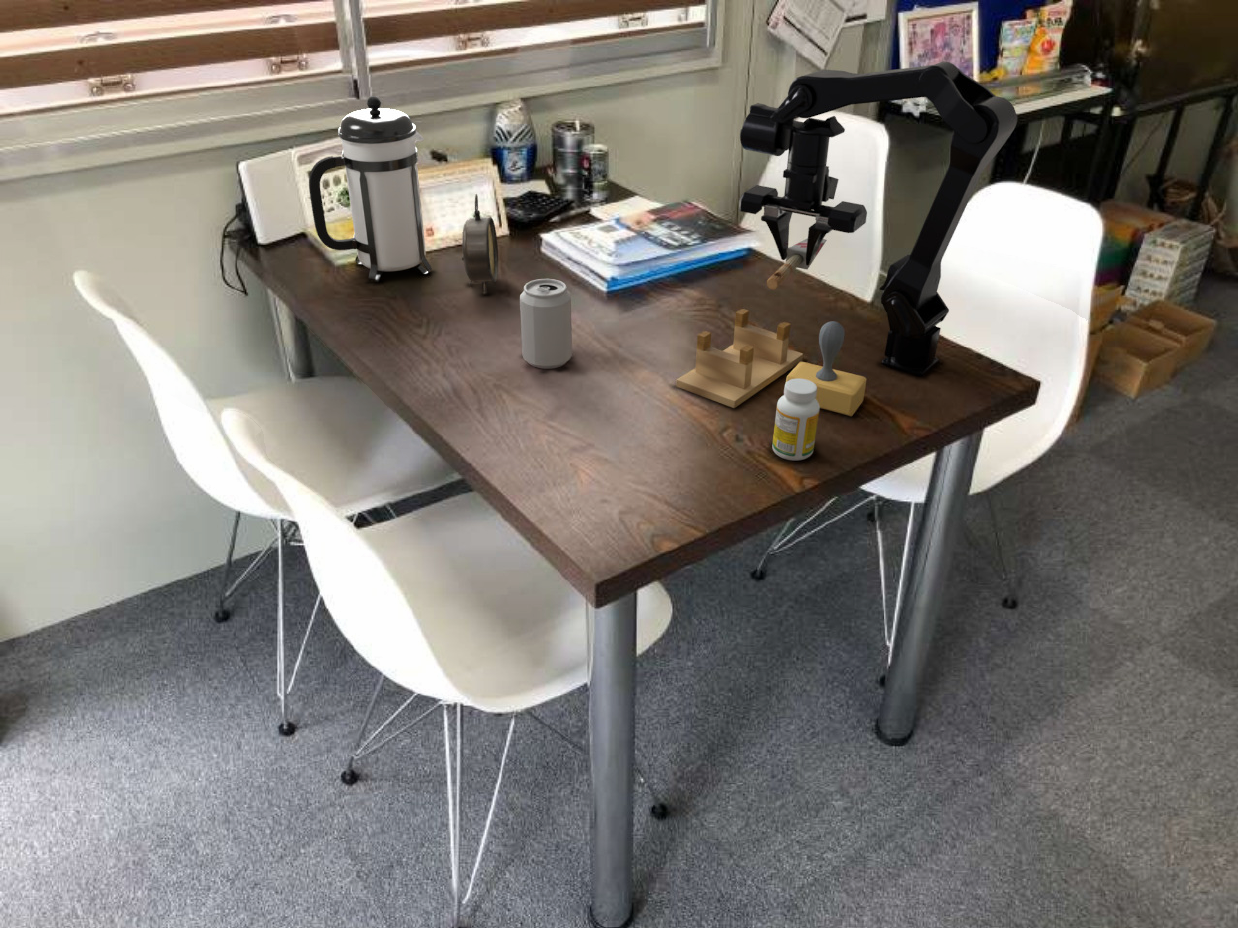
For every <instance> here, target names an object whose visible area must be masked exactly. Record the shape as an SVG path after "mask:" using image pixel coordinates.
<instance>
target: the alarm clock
mask: <svg viewBox="0 0 1238 928" xmlns="http://www.w3.org/2000/svg"><path fill="white" fill-rule="evenodd" d="M473 214H474V217H469V218H467V219H466V221H465V222H464V224H463V227H462V233H461V234H462V238H461V239H462V241H461V242H462V245H461V246H462V257H461V260H462V261H463V265H464V269H465V272H466V275H467V277H468V279H469V280H470V282H469V284H468V285H471V283H474V284H476V283H478V284H479V283H482V289H483V292H482V294H483V296H487V295H488V292H487V290H488V283H495V282H496V281H497V280H498V276H499V243H498V237H497V236H498V235H497V230H496V225H495V221H494V218H492V217H491V216H481V215H480V214H481V212H480V210H479V198H478V193H475V194H474V212H473Z"/></svg>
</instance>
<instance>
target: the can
mask: <svg viewBox="0 0 1238 928" xmlns="http://www.w3.org/2000/svg"><path fill="white" fill-rule="evenodd" d="M519 309H520V311H519V312H520V329H521V331H520V333H521V351H522V353H521V354H522V358H523V359H524V361H526V362H527V363H528V364H529V365H530V366H532V367H535V368H537V369H543V370H548V369H549V370H550V369H557V368H559V367H562V366H564V365H566V363H567V362H568V361H570V360H571V358H572V357H573V339H572V338H573V337H572V336H573V335H572V334H573V333H572V332H573V331H572V294H571V293H570V292H569V291H568V288H567V284H565V282H563V281H561V280H558V279H554V278H539V279H538V278H537V279H533V280H530V281H529V282H527V283H525V285H524V286H523V291H522V292H521V294H520V295H519Z"/></svg>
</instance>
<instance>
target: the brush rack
mask: <svg viewBox="0 0 1238 928" xmlns="http://www.w3.org/2000/svg"><path fill="white" fill-rule="evenodd" d="M749 314H750V310H748V309H745V308H741V309H739V310H737V311H735V319H734V320H735V321H734V332H733V333H734V335H733V344H731V345H730V346H728V347H727V348H725V349H724V350H721V349H718V348H715V347H712V345H711V343H712V332H710V331H707V330H702V331H701V332H700V333H698V334H697V339H696V353H695V354H696V356H695V367H694V368H693V369H691V370H690V371H688V372H686V373H685V374H683V375H682V376H680V377H678V378H676V381H675V382H676V387H677V388H679V389H681V390H683V391H686V392H690V393H692V394H694V395H698V396H701V397H703V398H705V399H708V400H711V401H714V402H717V403H719V404H722V405H724V406H727V407H728V408H732V409H735V408H737V407H738V406H740V405H741V404H743V403H744V402H746V401H747V400H749V399H750V398H751V397H752V396H754V395H755V394H757V393H758V392H760V391H762V390H763V389H764V388H766V387H767V386H768V385H770V384H771V383H773V382H774V381H776V380H777V379H778V378H780V377H781V376H783V375H784V374H786V373H787V372H788V371H790V370H791V369H794V368H795V367H796V366H797V365H798V364H799V362H804V361H803V360H804V353H803V352H799V351H796V350H793V349H790V348H789V344H790V334H791V325H792V324H791V323H789V322H787V321H783V322H781V323H779V324H778V325H777V327H776V332H774V331H771V330H767V329H765V328H761V327H758V326H755V325H752V324H749Z"/></svg>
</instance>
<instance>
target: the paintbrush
mask: <svg viewBox="0 0 1238 928" xmlns="http://www.w3.org/2000/svg"><path fill="white" fill-rule="evenodd" d="M807 241H808V237H807V238H805V239H803V240H802V241H800V242H797V243H795V244H793V245H791V246H788V248H787V258H786V259H785V262H784V263H783V264H782V265H781V266H780V267H779V268H778V269H777V270H776V271H775V272H774V273H773V274H772V275H771V276H770V277H769V278H768V279H767V280H766V286H767V288H769V290H770V289H771V290H776V289H778V288H779V287H780V285H781V284H783V283H784V282H785V280H787V279H788V277H789V276H790V275H792V273H793V272H794V271H795V270H796V269H803V270H809V268H810V266H811V265H812V264H813V262H814V260H815V259H816V257H817V256H818V254H819V253H820V251H821V250H822V248H823V247H824V245H825V244H826V242H827V239H824V238H823V240H822V242H821V244H820V246H819V248H818V250H817V252H816V254H815V256H814V258H813V260H812V262H811V264H810V265H809V266H808V265H806V250H807Z"/></svg>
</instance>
